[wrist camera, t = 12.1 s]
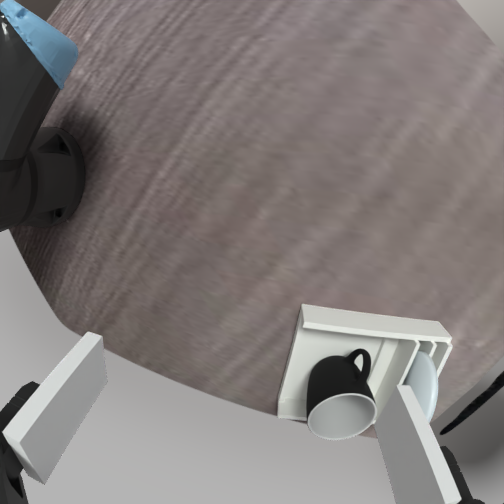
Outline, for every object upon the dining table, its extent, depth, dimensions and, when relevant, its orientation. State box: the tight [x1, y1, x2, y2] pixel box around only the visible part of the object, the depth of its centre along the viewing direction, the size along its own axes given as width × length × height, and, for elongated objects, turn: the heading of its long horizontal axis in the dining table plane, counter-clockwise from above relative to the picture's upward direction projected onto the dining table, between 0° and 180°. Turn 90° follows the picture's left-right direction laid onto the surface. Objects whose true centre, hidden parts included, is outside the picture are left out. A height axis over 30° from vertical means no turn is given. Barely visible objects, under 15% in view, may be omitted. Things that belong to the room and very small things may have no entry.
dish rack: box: [277, 304, 453, 424], centre depth 41 cm, size 22×17×6 cm
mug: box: [306, 348, 377, 440], centre depth 38 cm, size 12×9×10 cm
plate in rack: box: [402, 351, 438, 423], centre depth 37 cm, size 1×13×13 cm, turn 171°
